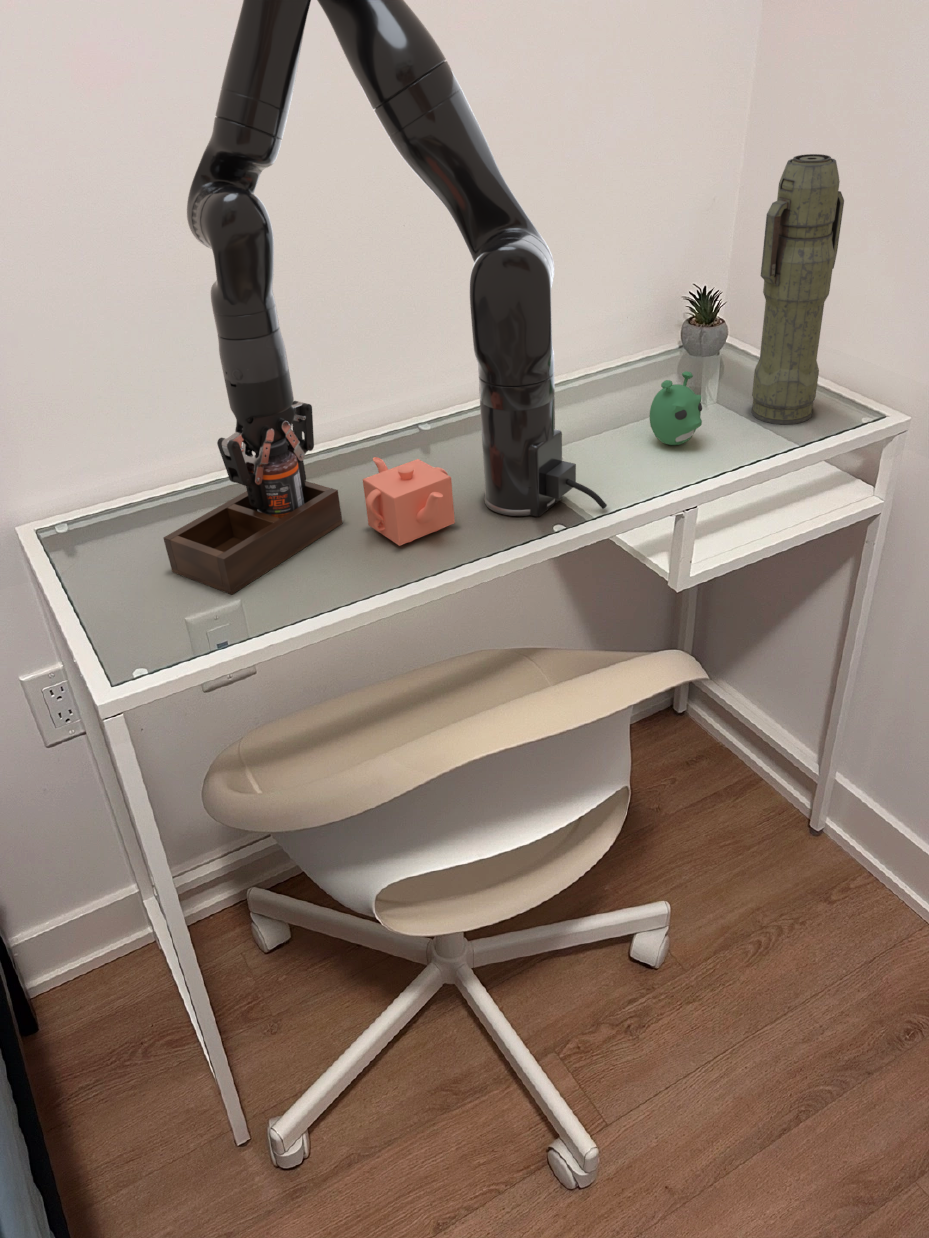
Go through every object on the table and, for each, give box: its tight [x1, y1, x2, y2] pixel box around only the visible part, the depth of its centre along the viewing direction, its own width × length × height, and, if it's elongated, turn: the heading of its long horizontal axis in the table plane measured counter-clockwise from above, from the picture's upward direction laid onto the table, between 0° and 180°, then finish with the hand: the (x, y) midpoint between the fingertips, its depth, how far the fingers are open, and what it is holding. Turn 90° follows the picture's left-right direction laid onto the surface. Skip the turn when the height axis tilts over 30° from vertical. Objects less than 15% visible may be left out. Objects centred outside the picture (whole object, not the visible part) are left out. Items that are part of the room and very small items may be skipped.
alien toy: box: [649, 370, 703, 446], centre depth 140 cm, size 7×8×10 cm
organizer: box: [162, 480, 344, 595], centre depth 124 cm, size 10×20×5 cm, turn 145°
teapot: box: [362, 456, 456, 547], centre depth 125 cm, size 12×15×8 cm
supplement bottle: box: [252, 438, 304, 518], centre depth 125 cm, size 6×6×11 cm
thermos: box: [751, 153, 845, 425], centre depth 140 cm, size 9×12×35 cm
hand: (279, 497), depth 126 cm, fingers closed on supplement bottle, 6 cm apart
